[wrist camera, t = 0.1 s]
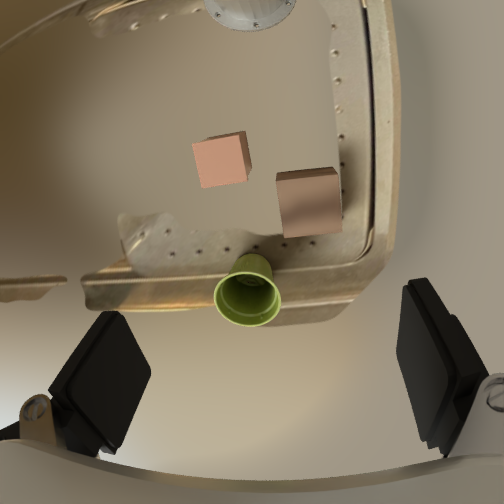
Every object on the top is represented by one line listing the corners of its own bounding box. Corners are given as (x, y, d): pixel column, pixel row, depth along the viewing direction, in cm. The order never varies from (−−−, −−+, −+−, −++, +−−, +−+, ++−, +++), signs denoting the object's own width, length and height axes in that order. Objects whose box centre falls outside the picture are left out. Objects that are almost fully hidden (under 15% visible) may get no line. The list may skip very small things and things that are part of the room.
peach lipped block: (206, 136, 42) (192, 143, 36) (246, 129, 41) (238, 134, 35) (214, 174, 45) (202, 188, 38) (253, 168, 44) (247, 181, 37)
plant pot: (286, 247, 49) (286, 276, 41) (277, 297, 53) (276, 330, 46) (226, 239, 49) (214, 267, 42) (223, 289, 54) (212, 321, 46)
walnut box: (276, 172, 44) (275, 181, 40) (332, 166, 43) (338, 174, 38) (284, 224, 47) (284, 238, 43) (337, 218, 46) (342, 232, 42)
